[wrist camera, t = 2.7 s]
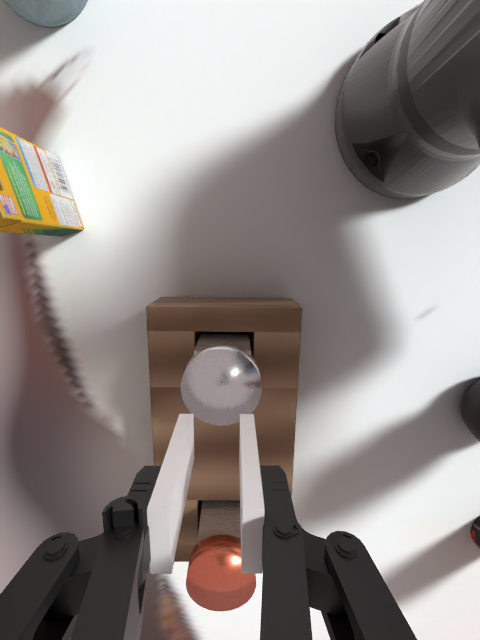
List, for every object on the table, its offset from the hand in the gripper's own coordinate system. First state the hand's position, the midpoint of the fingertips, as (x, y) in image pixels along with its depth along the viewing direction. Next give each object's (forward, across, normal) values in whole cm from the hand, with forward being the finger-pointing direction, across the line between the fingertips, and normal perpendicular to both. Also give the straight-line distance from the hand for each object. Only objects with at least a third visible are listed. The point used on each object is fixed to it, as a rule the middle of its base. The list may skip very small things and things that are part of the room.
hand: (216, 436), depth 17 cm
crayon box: (+19, -17, +15) cm, 29 cm away
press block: (+19, 0, -9) cm, 21 cm away
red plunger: (+14, 0, -18) cm, 23 cm away
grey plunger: (+14, 0, 0) cm, 14 cm away
